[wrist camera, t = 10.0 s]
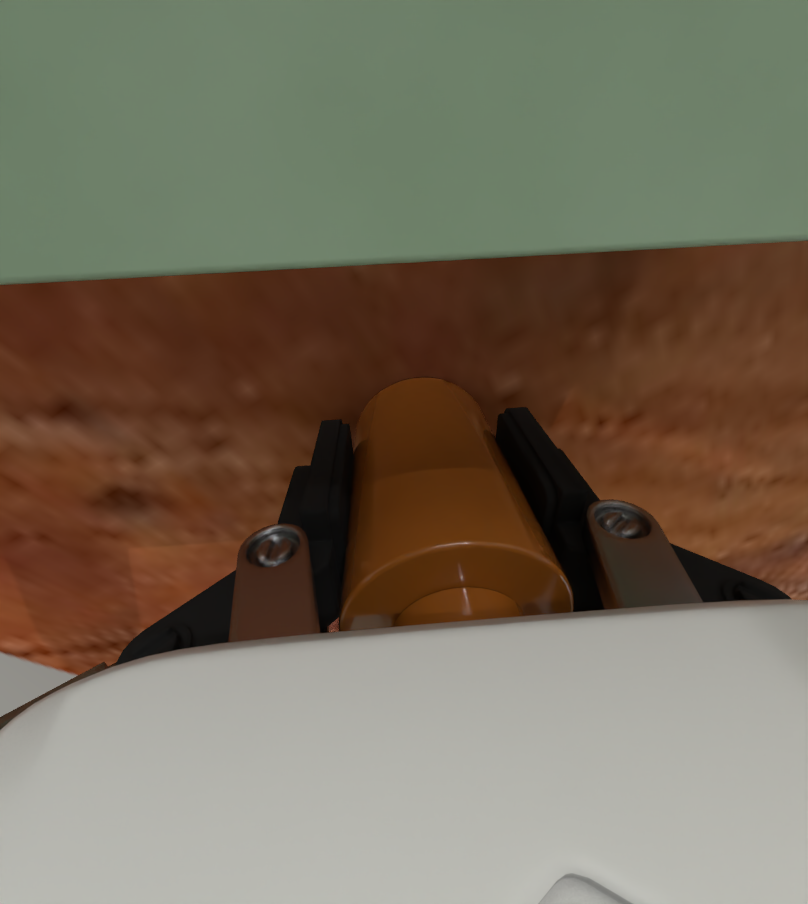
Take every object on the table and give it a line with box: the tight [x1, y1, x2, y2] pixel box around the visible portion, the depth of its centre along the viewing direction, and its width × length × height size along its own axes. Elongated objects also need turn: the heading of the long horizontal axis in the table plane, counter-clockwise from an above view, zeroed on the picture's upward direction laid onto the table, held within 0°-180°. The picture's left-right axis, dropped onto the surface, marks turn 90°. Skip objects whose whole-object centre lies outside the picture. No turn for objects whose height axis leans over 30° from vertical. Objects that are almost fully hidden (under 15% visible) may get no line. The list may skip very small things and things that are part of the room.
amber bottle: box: [339, 378, 574, 632], centre depth 9 cm, size 4×4×9 cm
